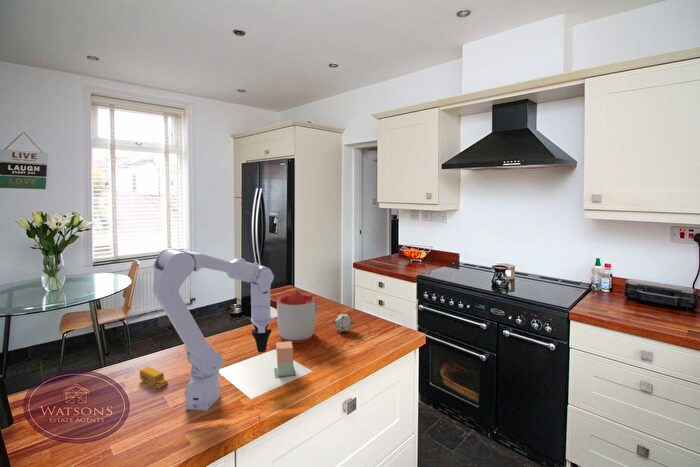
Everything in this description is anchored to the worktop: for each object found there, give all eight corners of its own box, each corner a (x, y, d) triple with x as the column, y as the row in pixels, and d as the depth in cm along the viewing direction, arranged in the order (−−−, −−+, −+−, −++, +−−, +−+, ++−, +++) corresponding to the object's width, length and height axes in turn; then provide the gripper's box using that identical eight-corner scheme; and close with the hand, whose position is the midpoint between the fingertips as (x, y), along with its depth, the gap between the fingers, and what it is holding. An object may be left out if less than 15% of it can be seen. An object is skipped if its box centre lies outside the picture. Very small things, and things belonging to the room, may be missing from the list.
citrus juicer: (325, 343, 137) (325, 293, 134) (280, 350, 130) (280, 298, 128) (314, 328, 151) (314, 283, 149) (273, 334, 145) (272, 287, 142)
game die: (338, 339, 149) (327, 318, 151) (355, 330, 152) (344, 309, 154) (342, 337, 141) (330, 315, 143) (360, 327, 144) (348, 305, 146)
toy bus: (158, 391, 104) (157, 378, 103) (140, 381, 109) (139, 369, 108) (168, 385, 106) (168, 374, 106) (150, 377, 111) (149, 365, 111)
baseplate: (251, 402, 98) (250, 398, 98) (216, 373, 113) (216, 370, 113) (312, 374, 113) (312, 371, 113) (274, 351, 129) (274, 349, 129)
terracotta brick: (292, 361, 110) (292, 347, 110) (277, 362, 109) (277, 349, 109) (291, 354, 115) (291, 341, 114) (276, 355, 114) (276, 342, 113)
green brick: (293, 374, 111) (293, 361, 110) (277, 376, 110) (277, 362, 109) (291, 367, 116) (291, 354, 115) (277, 369, 114) (276, 355, 114)
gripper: (275, 310, 102) (276, 355, 104) (272, 296, 116) (273, 335, 118) (250, 312, 100) (251, 358, 102) (250, 297, 114) (251, 337, 116)
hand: (261, 346), depth 110 cm, fingers open, 7 cm apart
